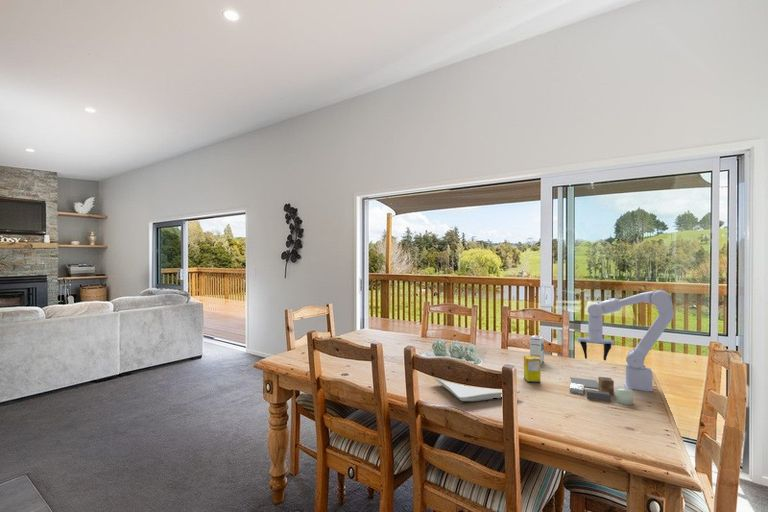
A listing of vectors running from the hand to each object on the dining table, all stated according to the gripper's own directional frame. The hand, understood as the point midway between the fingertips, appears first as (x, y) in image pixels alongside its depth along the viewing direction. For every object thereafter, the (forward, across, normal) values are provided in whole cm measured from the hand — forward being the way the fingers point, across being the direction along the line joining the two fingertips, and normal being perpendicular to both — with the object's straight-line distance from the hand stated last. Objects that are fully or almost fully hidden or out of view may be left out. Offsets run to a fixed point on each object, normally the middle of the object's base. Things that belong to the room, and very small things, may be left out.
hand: (595, 359), depth 173 cm
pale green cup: (+10, -7, +24) cm, 27 cm away
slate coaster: (+10, +5, +7) cm, 13 cm away
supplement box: (+10, +27, +12) cm, 31 cm away
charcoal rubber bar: (+10, +2, +25) cm, 27 cm away
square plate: (+10, +50, +34) cm, 61 cm away
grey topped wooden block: (+10, +9, +18) cm, 23 cm away
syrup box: (+10, +25, -18) cm, 32 cm away
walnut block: (+10, -2, +16) cm, 19 cm away
